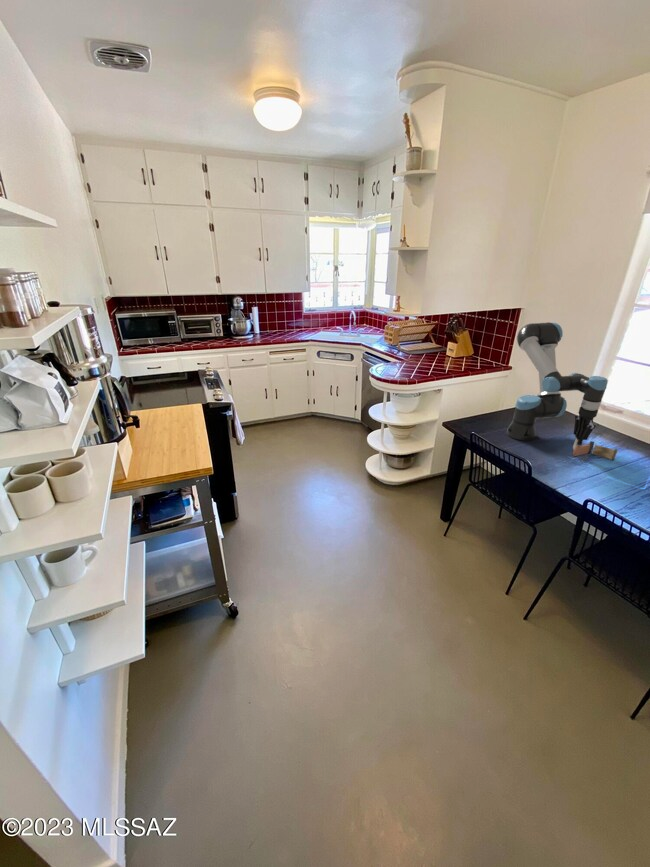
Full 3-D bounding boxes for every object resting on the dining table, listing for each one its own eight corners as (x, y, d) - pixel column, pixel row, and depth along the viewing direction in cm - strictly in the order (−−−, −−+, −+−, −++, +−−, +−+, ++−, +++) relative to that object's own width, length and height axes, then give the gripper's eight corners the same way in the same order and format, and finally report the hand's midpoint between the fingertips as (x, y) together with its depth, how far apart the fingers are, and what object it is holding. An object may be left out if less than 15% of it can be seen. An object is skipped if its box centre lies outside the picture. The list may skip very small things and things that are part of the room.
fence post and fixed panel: (586, 452, 190) (589, 442, 187) (587, 451, 191) (590, 440, 188) (613, 460, 182) (617, 449, 179) (614, 459, 183) (618, 448, 180)
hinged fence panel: (585, 452, 190) (588, 443, 188) (587, 453, 189) (590, 444, 186) (571, 455, 188) (574, 446, 185) (573, 456, 187) (576, 447, 184)
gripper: (573, 403, 183) (561, 443, 194) (589, 413, 172) (575, 455, 183) (588, 402, 183) (575, 443, 194) (605, 412, 172) (590, 455, 182)
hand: (575, 449), depth 188 cm, fingers closed
